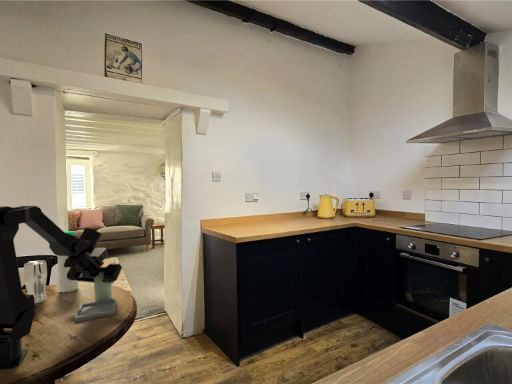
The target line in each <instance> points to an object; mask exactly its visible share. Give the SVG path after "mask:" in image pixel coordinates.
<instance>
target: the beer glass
mask: <svg viewBox="0 0 512 384" xmlns="http://www.w3.org/2000/svg"><path fill="white" fill-rule="evenodd" d="M47 278H48V267H47V260H43V259H42V260H41V259H40V260H34V261H28V262H26V263H24V264H23V280H24V284H25V288H26V291H27V292H26V293H27V295H34V298H35V305H37V304H39V303H40V304H41V303H43V302H45V301H46V300H47V295H46V290H45V289H46V285H47V284H46V283H47Z"/></svg>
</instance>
